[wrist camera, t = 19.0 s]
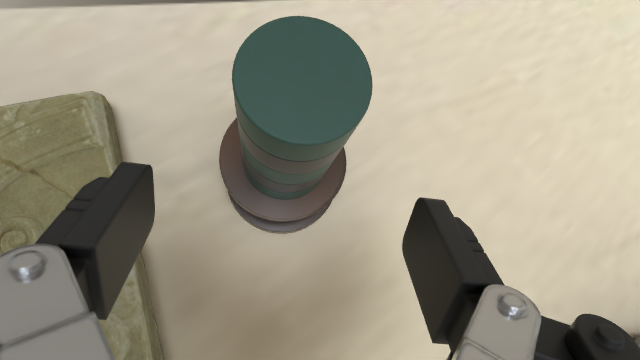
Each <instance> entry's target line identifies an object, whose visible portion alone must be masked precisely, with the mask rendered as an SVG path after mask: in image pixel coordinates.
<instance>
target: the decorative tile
mask: <svg viewBox="0 0 640 360" xmlns="http://www.w3.org/2000/svg"><path fill="white" fill-rule="evenodd" d="M120 163H122V160H121V154H120V149H119V143H118V139H117V133H116V128H115V123H114V117H113V113H112V108H111V106H110V104H109V102H108V101H107V100H106V98H105V97H104V96H103V95H101V94H99V93H97V92H93V91H89V92H84V93H80V94H68V95H62V96H56V97H51V98H46V99H40V100H35V101H29V102H23V103H18V104H12V105H6V106H1V107H0V255H2V254H3V253H5V252H7V251H9V250H12V249H14V248H17V247H20V246H25V245H30V244H34V243H35V242H36V241H37V240H38V239H39V238H40V236H41V235H42V234H43V233H44V232H45V231H46V229H47V228H48V227H49V226H50V225H51V223H52V222H53V221H54V220H55V219H56V218H57V216H58V215H59V214H60V213H61V212H62V211H63V210H65V207H66V206H67V205H68V203H69V202H70V201H71V200H73V199H74V196H75V195H76V194H77V193H78V192H79V191H80V189H81V188H82V187H83V186H84V185H86V184H88V183H89V182H91V181H93V180H95V179H97V178H98V177H108V178H109V177H110V176H111V175H112V174H113V172H114V171H115V170H116V168H117V167H118V166H119V164H120ZM98 320H99V319H98ZM99 323H100V325H101V327H102V330H103V332H104V334H105V336H106V339H107V341H108V343H109V346H110V348H111V350H112V353H113V355H114V357H115V360H164V358H163V353H162V349H161V345H160V343H159V340H158V331H157V325H156V320H155V318H154V315H153V312H152V307H151V299H150V296H149V293H148V288H147V277H146V273H145V268H144V262H143V260H142V257H141V253H139V255H138V257H137V259H136V261H135V263H134V265H133V267H132V269H131V271H130V273H129V275H128V277H127V279H126V281H125V283H124V285H123V287H122V290H121V292H120V294H119V296H118V298H117V300H116V302H115V304H114V306H113V308H112V310H111V312H110V314H109V316H108V318H107V320H99Z"/></svg>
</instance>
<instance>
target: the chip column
mask: <svg viewBox="0 0 640 360" xmlns="http://www.w3.org/2000/svg"><path fill="white" fill-rule="evenodd" d="M232 83H233V91H234V99H235V106H236V114H237V121H238V129H239V137H240V144H241V152H242V159H243V166H244V170H245V173H246V176H247V177H248V179H249V181H250V182H251V183H252V185H253V186H254V187H255V188H256V189H257V190H259V191H260V192H261V193H263V194H265V195H267V196H269V197H272V198H275V199H281V200H289V199H295V198H299V197H301V196H304V195H305V194H307V193H309V192H310V191H311V190H313V189H314V188H315V187H316V186H317V184H318V183H319V182H320V180H321V179H322V177H323V176H324V174H325V173H326V171H327V170H328V168H329V167H330V165H331V164H332V162H333V161H334V160H335V158H336V157H337V155H338V154H339V152H340V151H341V149H342V148H343V146H344V145H345V143H346V142H347V140H348V139H349V137H350V136H351V134H352V133H353V132H354V130H355V129H356V127H357V126H358V124H359V123H360V121H361V120H362V118H363V117H364V115H365V113H366V111H367V109H368V106H369V104H370V100H371V96H372V76H371V71H370V68H369V65H368V62H367V59H366V57H365V55H364V53H363V52H362V50H361V49H360V47H359V46H358V45H357V44H356V42H355V41H354V40H353V39H352V38H351V37H350V36H349V35H348V34H346V33H345V32H344V31H342V30H341V29H340V28H338V27H336V26H334V25H333V24H330V23H328V22H326V21H323V20H320V19H317V18H312V17H304V16H290V17H284V18H279V19H276V20H273V21H270V22H268V23H266V24H264V25H262V26H261V27H259V28H258V29H256V30H255V31H254V32H253V33H251V34H250V36H249V37H248V38H247V39H246V40H245V41H244V43H243V44H242V45H241V47H240V49H239V51H238V53H237V55H236V58H235V61H234V64H233V70H232Z"/></svg>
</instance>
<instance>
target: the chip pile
mask: <svg viewBox="0 0 640 360" xmlns="http://www.w3.org/2000/svg"><path fill="white" fill-rule="evenodd" d="M219 162H220V170H221V174H222V177H223V180H224V183H225V185H226V188H227V189H228V193H229V196H230V199H231V201H232V203H233V205H234V207H235V209H236V210H237V212H238V213H239V214H240V215H241V216H242V217H243V218H244V219H245V220H246V221H247V222H248V223H250V224H251V225H253V226H255V227H256V228H259V229H261V230H263V231H267V232H271V233H292V232H296V231H299V230H302V229H304V228H306V227H308V226H310V225H311V224H313V223H314V222H315V221H317V220H318V219H319V218H320V217H321V216H322V215H323V214H324V213H325V211H326V210H327V209H328V207H329V205H330V204H331V202H332V200H333V198H334V197H335V196H336V194H337V193H338V191H339V190H340V188H341V186H342V183H343V180H344V177H345V173H346V155H345V150H344V147H343V148H342V149H341V151H340V152H339V154H338V155H337V157H336V158H335V160H334V161H333V162H332V164H331V165H330V167H329V168H328V170H327V171H326V173H325V174H324V176H323V177H322V179H321V180H320V182H319V183H318V184H317V186H316V187H315V188H314V189H313V190H311V191H310V192H309V193H307V194H305V195H304V196H301V197H299V198H295V199H289V200H281V199H275V198H272V197H269V196H267V195H265V194H263V193H261V192H260V191H259V190H257V189H256V188H255V187H254V186H253V185H252V183H251V182H250V181H249V179H248V177H247V176H246V173H245V170H244V166H243V159H242V152H241V144H240V137H239V129H238V121H237V118H236V119H235V120H234V121H233V122H232V124H231V125H230V126H229V128H228V129H227V131H226V133H225V135H224V137H223V140H222V143H221V148H220V157H219Z"/></svg>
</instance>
